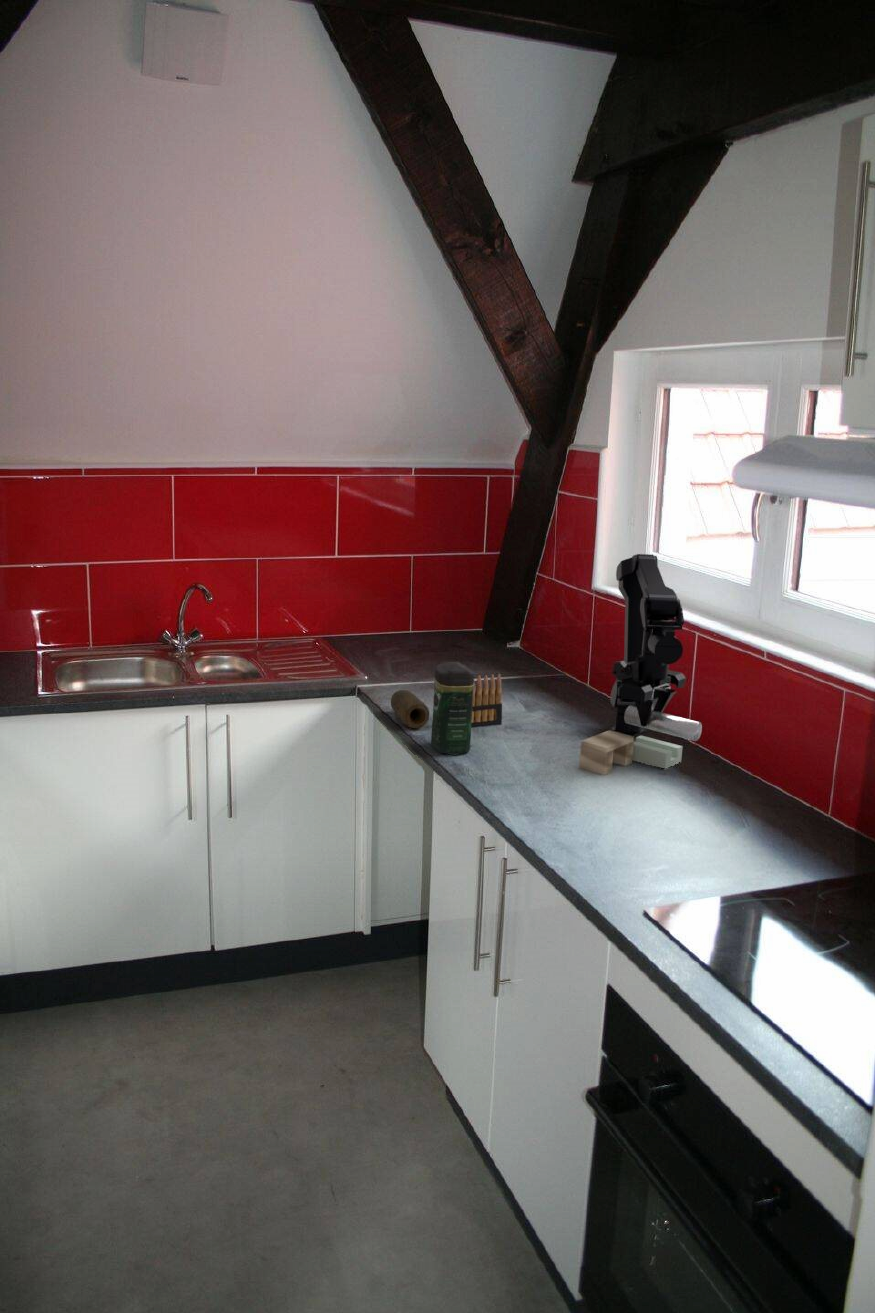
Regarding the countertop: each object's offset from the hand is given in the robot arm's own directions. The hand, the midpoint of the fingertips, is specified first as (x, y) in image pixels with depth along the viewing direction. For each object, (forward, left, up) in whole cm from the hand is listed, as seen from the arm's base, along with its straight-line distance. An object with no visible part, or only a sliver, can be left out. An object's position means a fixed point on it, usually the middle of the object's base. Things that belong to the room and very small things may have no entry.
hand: (648, 724), depth 233 cm
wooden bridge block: (+11, -3, -8) cm, 13 cm away
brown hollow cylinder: (+18, -51, -8) cm, 55 cm away
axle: (0, +3, -1) cm, 3 cm away
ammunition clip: (+8, -38, -8) cm, 40 cm away
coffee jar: (+26, -32, -8) cm, 42 cm away
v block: (0, +2, -8) cm, 8 cm away
